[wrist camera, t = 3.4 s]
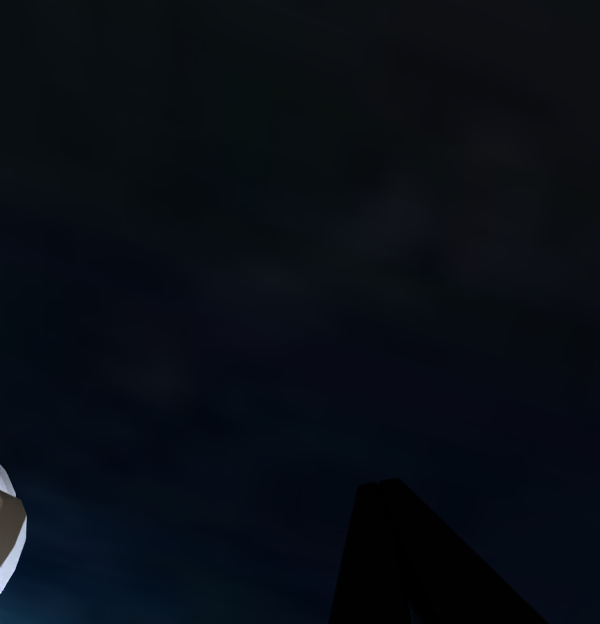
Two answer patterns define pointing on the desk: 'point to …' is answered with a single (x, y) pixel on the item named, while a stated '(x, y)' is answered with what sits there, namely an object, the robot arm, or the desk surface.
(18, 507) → the cup
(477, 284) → the desk surface
